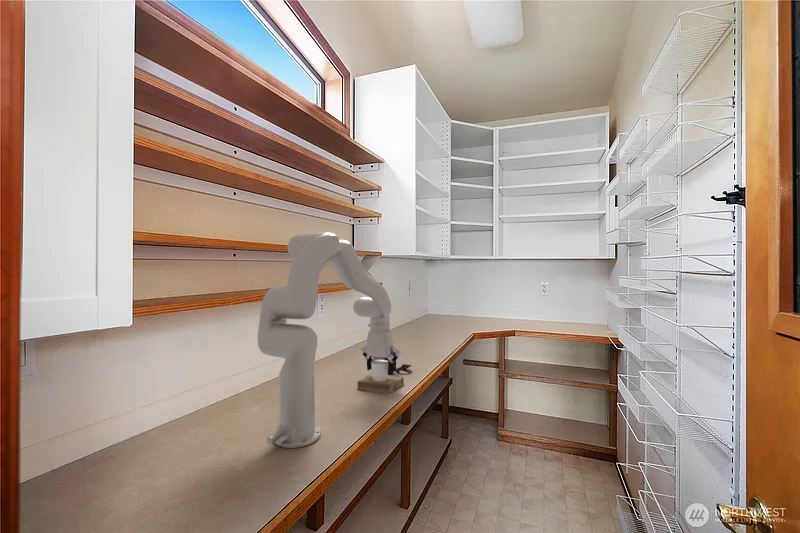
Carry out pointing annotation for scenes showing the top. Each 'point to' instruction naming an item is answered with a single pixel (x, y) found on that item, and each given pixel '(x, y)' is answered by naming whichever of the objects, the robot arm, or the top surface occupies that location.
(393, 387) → the walnut riser
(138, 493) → the top surface
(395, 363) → the milk frother
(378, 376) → the white cup
